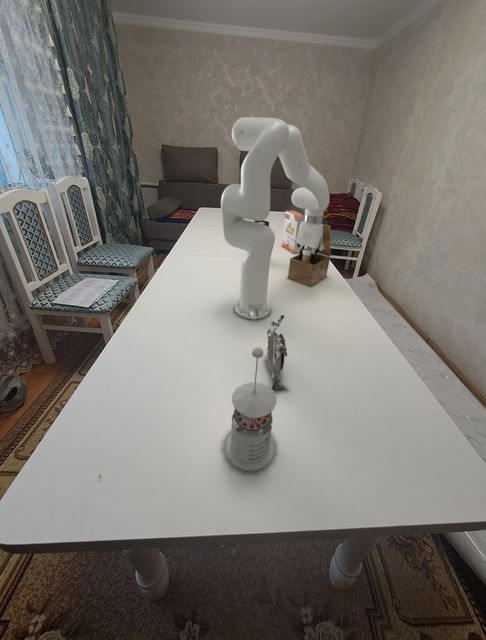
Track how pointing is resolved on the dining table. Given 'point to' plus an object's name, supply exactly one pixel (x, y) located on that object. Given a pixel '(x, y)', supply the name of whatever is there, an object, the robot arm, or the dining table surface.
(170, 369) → the dining table surface
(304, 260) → the sprinkles bottle
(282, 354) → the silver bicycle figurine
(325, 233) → the lid
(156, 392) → the dining table surface
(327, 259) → the wooden box
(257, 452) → the french press
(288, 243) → the cracker box
